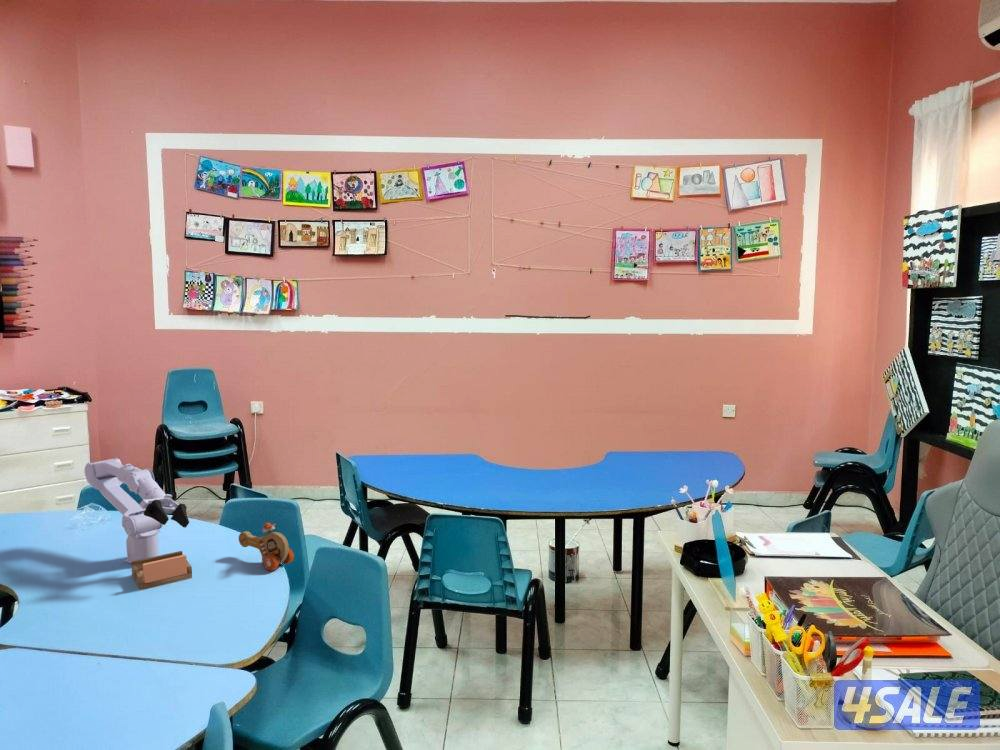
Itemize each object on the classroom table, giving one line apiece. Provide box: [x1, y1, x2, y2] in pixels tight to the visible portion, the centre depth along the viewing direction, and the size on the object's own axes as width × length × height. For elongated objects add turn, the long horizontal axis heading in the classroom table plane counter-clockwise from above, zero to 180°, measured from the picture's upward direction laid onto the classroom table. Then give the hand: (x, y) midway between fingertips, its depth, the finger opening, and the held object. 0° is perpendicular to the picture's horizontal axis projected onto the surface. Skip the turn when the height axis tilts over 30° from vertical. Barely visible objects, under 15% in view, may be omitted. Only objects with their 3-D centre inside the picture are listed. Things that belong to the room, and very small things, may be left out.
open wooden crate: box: [130, 550, 193, 591], centre depth 205 cm, size 12×14×4 cm
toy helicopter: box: [238, 522, 295, 572], centre depth 216 cm, size 8×21×14 cm, turn 60°
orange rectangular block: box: [143, 554, 188, 583], centre depth 201 cm, size 1×11×6 cm, turn 128°
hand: (176, 523), depth 203 cm, fingers open, 7 cm apart
